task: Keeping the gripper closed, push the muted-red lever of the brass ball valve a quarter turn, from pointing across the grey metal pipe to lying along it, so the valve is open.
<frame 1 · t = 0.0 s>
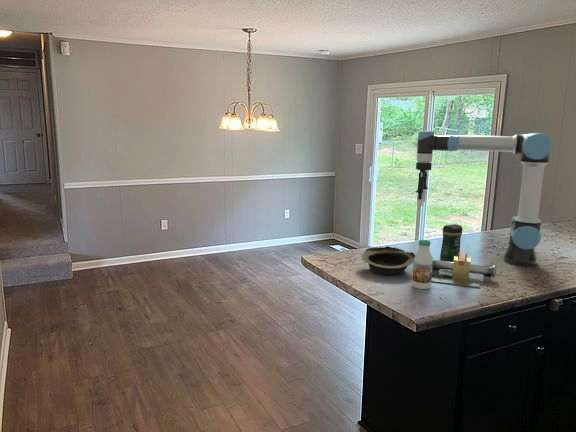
hand: (421, 203, 238), 28 cm above the table, fingers open, 13 cm apart
lever: (462, 259, 204), point 10 cm above the table, hinge at 90.0°
coffee jar: (449, 260, 238), on the table
stone bowl: (387, 271, 218), on the table
pipe run: (460, 277, 211), on the table
milk bottle: (421, 287, 197), on the table
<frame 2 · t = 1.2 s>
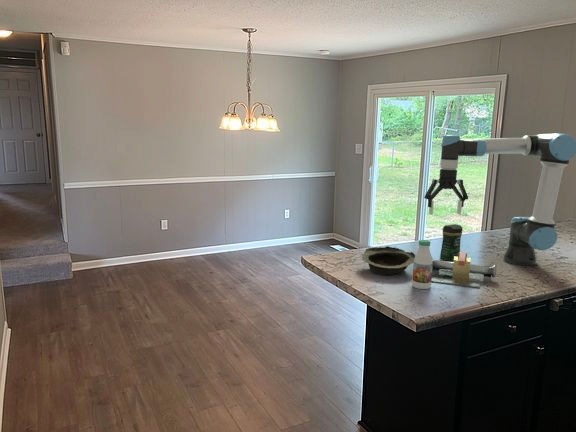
hand: (444, 214, 219), 26 cm above the table, fingers open, 13 cm apart
nothing on the table moved.
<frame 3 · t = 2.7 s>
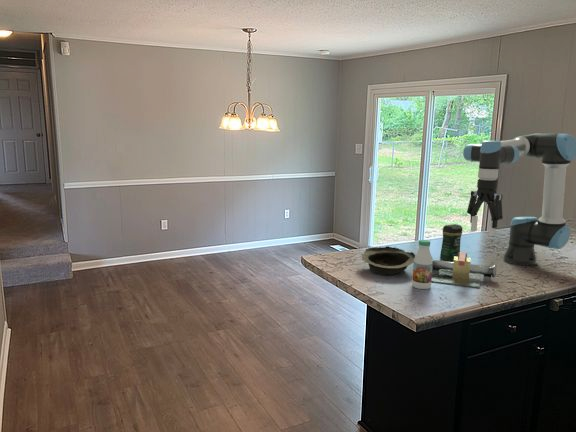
hand: (482, 233, 194), 23 cm above the table, fingers open, 8 cm apart
nothing on the table moved.
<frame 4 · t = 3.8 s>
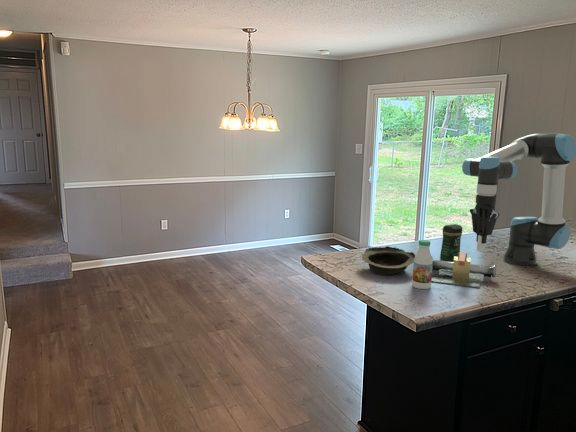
hand: (480, 250, 195), 16 cm above the table, fingers closed
nothing on the table moved.
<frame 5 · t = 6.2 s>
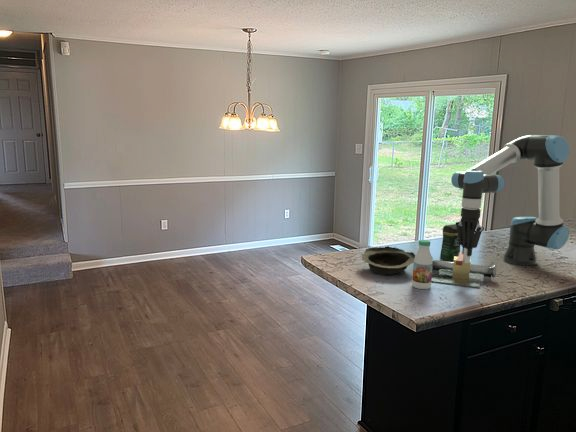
hand: (466, 262, 199), 10 cm above the table, fingers closed
lever: (460, 259, 204), point 10 cm above the table, hinge at 85.5°, touching gripper
everything else where it was.
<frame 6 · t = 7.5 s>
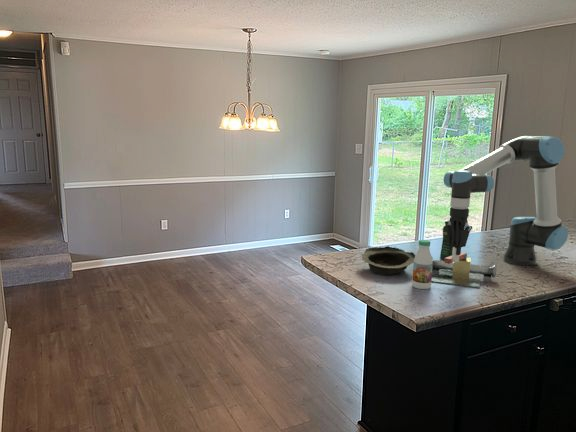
hand: (455, 261, 200), 10 cm above the table, fingers closed
lever: (455, 258, 205), point 10 cm above the table, hinge at 64.7°, touching gripper
everything else where it was.
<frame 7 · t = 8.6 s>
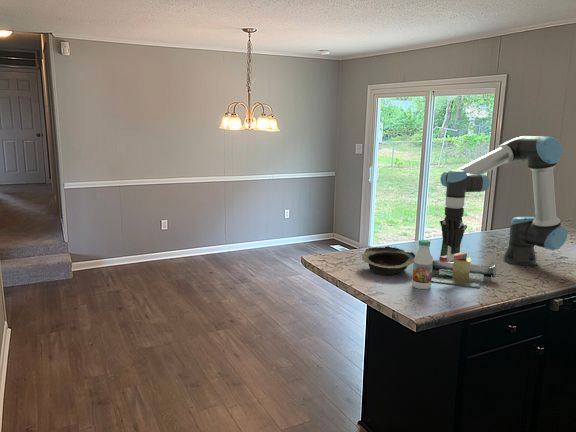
hand: (450, 260, 202), 10 cm above the table, fingers closed
lever: (453, 257, 206), point 10 cm above the table, hinge at 54.1°, touching gripper
everything else where it was.
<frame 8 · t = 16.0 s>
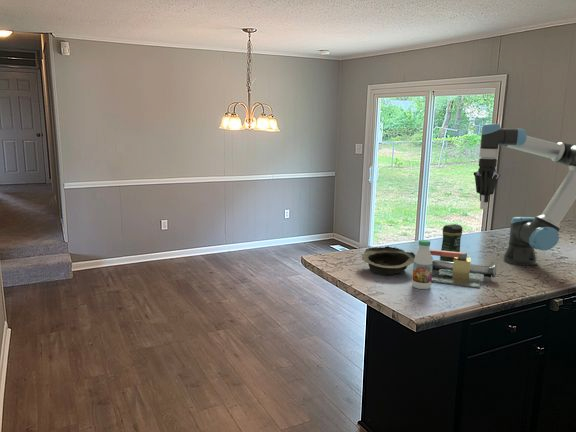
hand: (483, 208, 218), 29 cm above the table, fingers closed
lever: (448, 254, 211), point 10 cm above the table, hinge at 3.1°
everything else where it was.
at the end: lever at +3° (first picture: +90°) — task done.
